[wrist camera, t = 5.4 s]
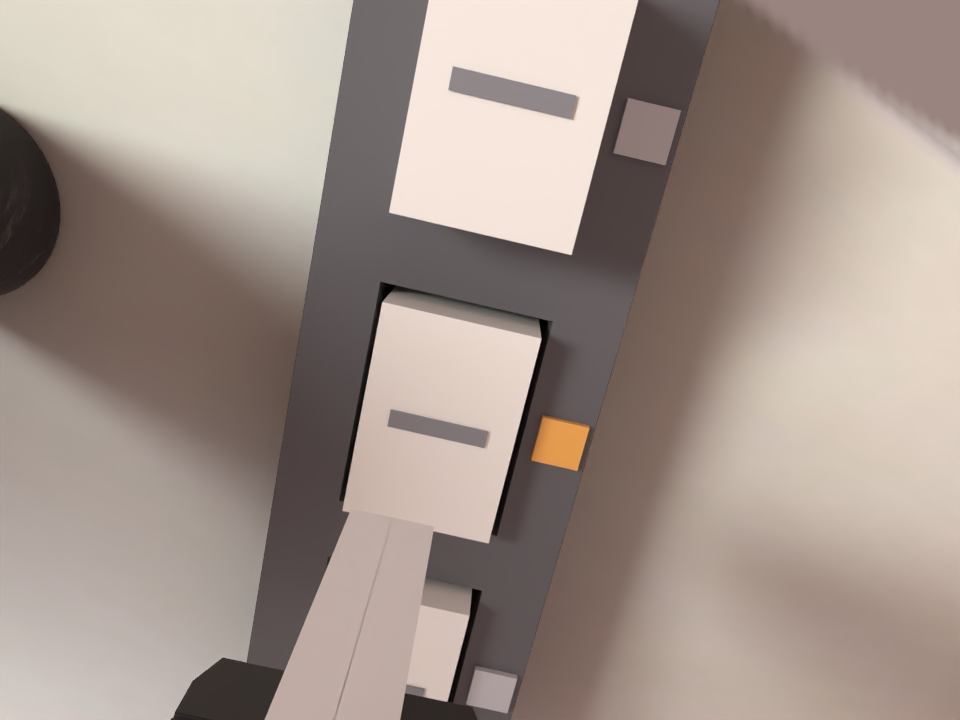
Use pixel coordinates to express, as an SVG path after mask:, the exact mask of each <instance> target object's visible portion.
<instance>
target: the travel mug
mask: <svg viewBox="0 0 960 720" xmlns="http://www.w3.org/2000/svg"><path fill="white" fill-rule="evenodd" d="M59 222H60V205H59V197H58V191H57V187H56V183H55V180H54V177H53V174H52V172H51V169H50V167H49V165H48V163H47V161H46V159H45V157H44V155H43V153H42V152H41V150H40V149H39V147H38V146H37V144H36V143H35V141H34V140H33V139H32V138H31V136H30V135H29V134H28V133H27V132H26V130H25V129H24V128H23V127H22V126H20V125H19V124H18V123H17V122H16V121H15V120H14V119H13V118H12V117H10V116H9V115H8V114H6V113H5V112H4V111H2V110H1V109H0V296H1V295H3V294H6V293H8V292H10V291H13V290H15V289H17V288H18V287H20V286H22V285H23V284H25V283H26V282H28V281H29V280H30V279H31V278H32V277H34V276H35V275H36V274H37V273H38V271H39V270H40V269H41V268H42V267H43V266H44V264H45V263H46V261H47V260H48V258H49V256H50V254H51V252H52V250H53V248H54V245H55V242H56V239H57V235H58V230H59Z"/></svg>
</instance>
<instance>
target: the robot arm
mask: <svg viewBox="0 0 960 720" xmlns="http://www.w3.org/2000/svg"><path fill="white" fill-rule="evenodd" d="M433 531H434V526H429V525H425V524H420V523H415V522H411V521H406V520H402V519H397V518H392V517H388V516H383V515H378V514H374V513H369V512H365V511H360V510H355V509H351V511H350V513H349V516H348V518H347V520H346V523H345V525H344V528H343V530H342V533H341V535H340V537H339V540H338V542H337V545H336V547H335V550H334V552H333V554H332V557H331V559H330V562H329V564H328V567H327V569H326V572H325V574H324V576H323V579H322V581H321V584H320V586H319V589H318V591H317V593H316V596H315V598H314V601H313V603H312V606H311V608H310V610H309V613H308V615H307V618H306V620H305V623H304V625H303V628H302V630H301V632H300V635H299V637H298V640H297V642H296V645H295V647H294V649H293V652H292V654H291V657H290V659H289V662H288V664H287V666H286V669H285V671H284V670H279V669H274V668H270V667H265V666H260V665H255V664H250V663H245V662H241V661H236V660H231V659H226V658H222V659H221V660H219V661H218V662H217V663H215V664H214V665H213V666H212V667H210V668H209V669H208V670H206V671H205V672H204V673H202V674H201V675H200V676H199V677H197V678H196V679H195V680H193V682H192V683H191V685H190V687H189V689H188V690H187V692H186V694H185V696H184V697H183V699H182V701H181V703H180V704H179V706H178V708H177V710H176V711H175V715H174V717H173V718H171V720H478V719H477V717H476V715H475V712H474V710H473V708H472V707H469V706H465V705H460V704H455V703H450V702H445V701H441V700H436V699H431V698H426V697H421V696H416V695H412V694H407V693H405V690H406V684H407V678H408V673H409V667H410V661H411V656H412V650H413V644H414V639H415V633H416V627H417V622H418V616H419V610H420V605H421V599H422V593H423V588H424V582H425V576H426V571H427V565H428V559H429V553H430V548H431V542H432V536H433Z"/></svg>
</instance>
